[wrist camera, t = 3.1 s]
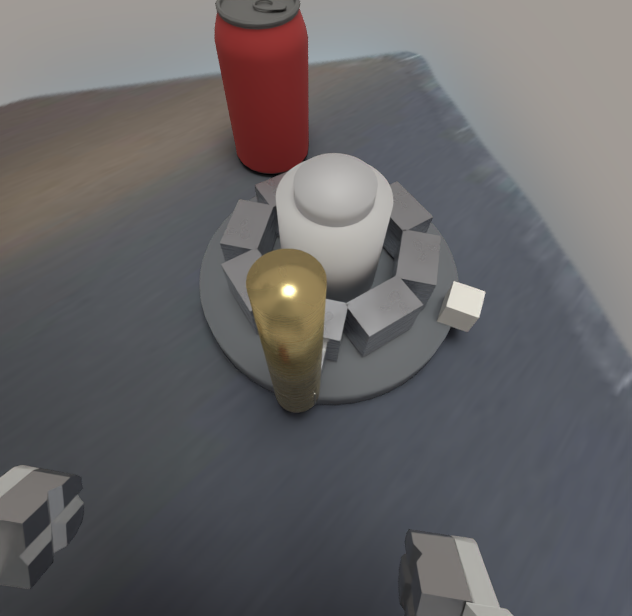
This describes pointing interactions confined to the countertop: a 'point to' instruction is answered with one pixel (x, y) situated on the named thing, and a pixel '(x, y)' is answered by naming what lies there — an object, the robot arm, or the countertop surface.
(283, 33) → the beer can
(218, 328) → the flange base
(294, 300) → the gear with peg
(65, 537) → the robot arm
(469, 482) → the countertop surface
